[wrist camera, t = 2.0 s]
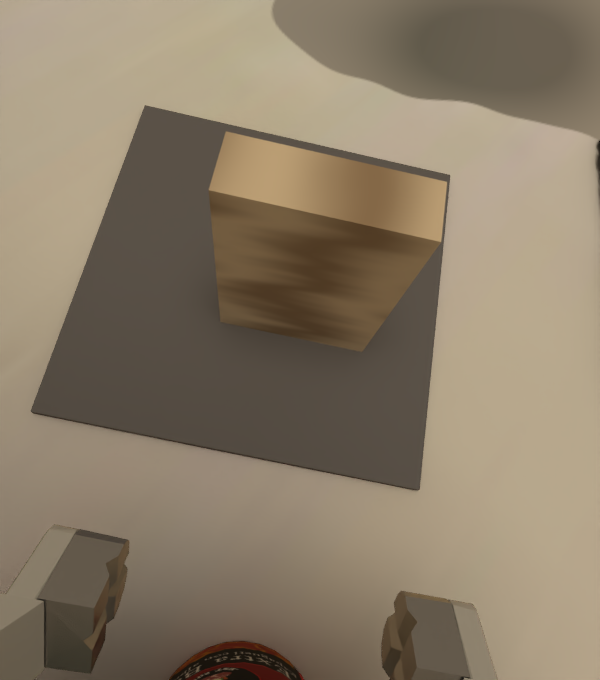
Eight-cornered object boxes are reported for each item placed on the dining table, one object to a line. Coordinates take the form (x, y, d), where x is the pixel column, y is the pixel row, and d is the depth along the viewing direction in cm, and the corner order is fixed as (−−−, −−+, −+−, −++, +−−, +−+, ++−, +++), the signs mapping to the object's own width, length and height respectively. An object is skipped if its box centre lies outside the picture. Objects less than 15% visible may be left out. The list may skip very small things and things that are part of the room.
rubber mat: (33, 413, 26) (30, 411, 26) (146, 110, 33) (145, 105, 33) (417, 490, 27) (419, 490, 27) (447, 179, 34) (450, 175, 34)
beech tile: (220, 321, 28) (208, 190, 17) (230, 281, 29) (225, 131, 18) (362, 352, 29) (441, 241, 17) (368, 311, 30) (447, 181, 18)
